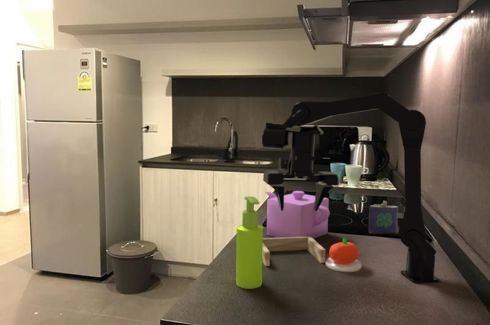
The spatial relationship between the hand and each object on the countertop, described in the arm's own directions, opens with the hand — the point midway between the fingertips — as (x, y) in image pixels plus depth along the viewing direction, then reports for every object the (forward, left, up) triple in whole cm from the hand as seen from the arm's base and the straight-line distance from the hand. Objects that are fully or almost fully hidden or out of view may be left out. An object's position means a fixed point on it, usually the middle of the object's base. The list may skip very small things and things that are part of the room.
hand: (298, 210), depth 108 cm
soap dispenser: (-13, +15, -14) cm, 25 cm away
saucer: (-5, -11, -13) cm, 18 cm away
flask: (+21, -36, -14) cm, 43 cm away
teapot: (+24, -6, -14) cm, 28 cm away
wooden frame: (+3, +1, -13) cm, 14 cm away
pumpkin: (-5, -11, -13) cm, 17 cm away
